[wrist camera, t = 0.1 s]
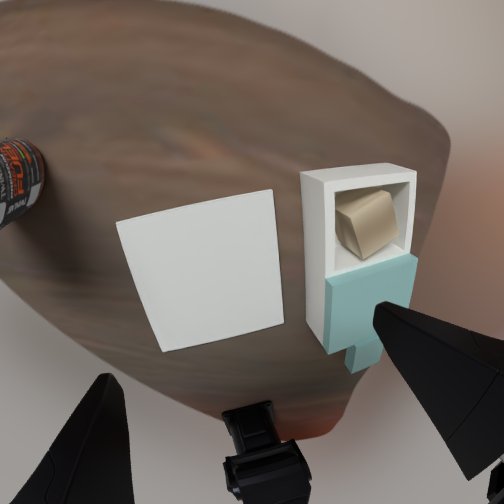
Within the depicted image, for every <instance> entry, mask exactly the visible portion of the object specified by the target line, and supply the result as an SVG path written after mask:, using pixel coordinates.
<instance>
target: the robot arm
mask: <svg viewBox="0 0 504 504" xmlns="http://www.w3.org/2000/svg"><path fill="white" fill-rule="evenodd" d="M372 323H373V328H374V330H375V331H376V333H377V335H378V337H379V339H380V340H381V342H382V344H383V346H384V348H385V350H386V351H387V353H388V355H389V357H390V358H391V360H392V362H393V363H394V365H395V366H396V368H397V369H398V371H399V372H400V373H401V375H402V377H403V378H404V380H405V381H406V382H407V384H408V385H409V387H410V388H411V390H412V391H413V393H414V394H415V396H416V397H417V399H418V400H419V402H420V404H421V405H422V407H423V408H424V410H425V411H426V413H427V414H428V416H429V417H430V419H431V421H432V422H433V424H434V425H435V427H436V429H437V430H438V432H439V433H440V435H441V436H442V438H443V440H444V441H445V443H446V445H447V447H448V448H449V450H450V452H451V453H452V455H453V457H454V458H455V460H456V462H457V463H458V465H459V467H460V468H461V470H462V472H463V474H464V475H465V477H466V479H467V480H468V481H469V480H471V479H472V478H474V477H475V476H476V475H478V474H479V473H480V472H482V471H483V470H484V469H486V468H487V467H488V466H489V465H491V464H492V463H493V462H494V461H496V460H497V459H498V458H500V459H501V461H500V462H499V463H498V464H497V465H496V466H495V468H494V469H493V470H492V471H491V475H490V482H489V487H488V493H487V498H488V500H489V501H490V502H489V503H488V504H504V340H500V339H496V338H492V337H489V336H486V335H483V334H480V333H477V332H474V331H471V330H470V331H469V330H468V329H465V328H462V327H460V326H457V325H454V324H451V323H448V322H445V321H442V320H439V319H437V318H434V317H431V316H428V315H425V314H423V313H420V312H417V311H414V310H411V309H408V308H405V307H403V306H400V305H397V304H394V303H391V302H388V301H383V302H381V303H378V304H376V306H375V309H374V316H373V322H372ZM222 418H223V420H224V422H225V425H226V427H227V429H228V432H229V434H230V435H231V436H232V438H233V442H234V445H235V449H236V452H237V455H236V456H231V457H230V456H228V457H225V458H226V461H225V462H224V463H223V466H224V470H225V475H226V484H227V489H228V491H229V492H231V493H233V495H234V496H235V497H236V499H237V500H238V501H239V500H242V501H243V504H308V502H309V497H310V492H311V485H310V483H309V481H310V480H312V476H311V473H310V469H309V467H308V464H307V462H306V460H305V458H304V456H303V455H302V453H301V451H300V449H299V447H298V445H297V444H296V442H295V440H294V439H291V440H290V441H287V442H284V443H281V440H280V438H279V435H278V433H277V430H276V428H275V425H274V424H275V423H274V415H273V408H272V403H271V401H265V402H261V403H258V404H254V405H250V406H246V407H242V408H238V409H234V410H230V411H226V412H223V413H222ZM9 504H135V502H134V494H133V484H132V473H131V461H130V442H129V431H128V423H127V416H126V408H125V399H124V393H123V389H122V387H121V386H120V384H119V383H118V382H117V380H116V378H115V377H114V375H113V374H112V373H103V374H100V375H99V376H98V377H97V379H96V380H95V381H94V383H93V384H92V385H91V387H90V388H89V390H88V391H87V393H86V394H85V396H84V397H83V398H82V400H81V401H80V403H79V404H78V406H77V407H76V409H75V410H74V412H73V413H72V414H71V416H70V417H69V419H68V420H67V422H66V424H65V425H64V427H63V428H62V430H61V431H60V433H59V434H58V436H57V437H56V439H55V440H54V442H53V443H52V445H51V447H50V448H49V451H47V453H46V454H45V456H44V457H43V459H42V460H41V462H40V464H39V465H38V467H37V468H36V470H35V471H34V472H33V474H32V475H31V476H30V478H29V479H28V480H27V482H26V483H25V484H24V486H23V487H22V488H21V490H20V491H19V492H18V494H17V495H16V496H15V498H14V499H13V500H12V502H11V503H9Z"/></svg>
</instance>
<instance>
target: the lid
mask: <svg viewBox="0 0 504 504" xmlns="http://www.w3.org/2000/svg"><path fill="white" fill-rule="evenodd" d="M417 262H418V258H416V257H415V256H413V255H412V254H410V253H408V254H405V255H402V256H399V257H396V258H393V259H389V260H386V261H383V262H380V263H376V264H373V265H370V266H367V267H363V268H360V269H357V270H353V271H350V272H346V273H343V274H339V275H336V276H333V277H329V278H325V309H324V332H323V348H324V349H325V351H326V352H327V354H328V355H329V354H332V353H335V352H337V351H340V350H343V349H345V348H347V350H346V357H345V363H344V364H345V365H346V367H347V368H348V370H349V371H350V373H351V374H353V373H355V372H358V371H360V370H362V369H364V368H367V367H369V366H371V365H373V364H376V363H378V362H379V361H380V357H381V353H382V350H383V344H382V342H381V340H380V339H379V337H378V335H377V333H376V331H375V330H374V328H373V323H372V322H373V316H374V309H375V306H376V304H378V303H381V302H383V301H388V302H391V303H394V304H397V305H400V306H403V307H405V308H408V307H409V302H410V298H411V294H412V289H413V284H414V279H415V274H416V268H417Z"/></svg>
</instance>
